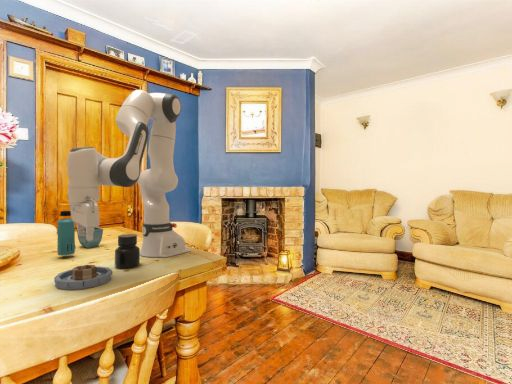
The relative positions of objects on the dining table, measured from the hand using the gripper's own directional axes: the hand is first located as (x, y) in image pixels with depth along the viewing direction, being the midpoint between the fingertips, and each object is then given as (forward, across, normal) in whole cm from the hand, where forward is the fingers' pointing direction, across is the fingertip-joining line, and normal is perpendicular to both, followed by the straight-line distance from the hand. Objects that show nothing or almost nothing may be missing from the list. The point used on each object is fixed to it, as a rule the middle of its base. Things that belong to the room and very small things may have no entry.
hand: (85, 237), depth 97 cm
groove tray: (+14, 0, +1) cm, 14 cm away
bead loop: (+13, 0, +1) cm, 13 cm away
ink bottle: (+15, +8, -16) cm, 24 cm away
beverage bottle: (+15, +37, -1) cm, 40 cm away
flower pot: (+15, +52, -14) cm, 56 cm away
